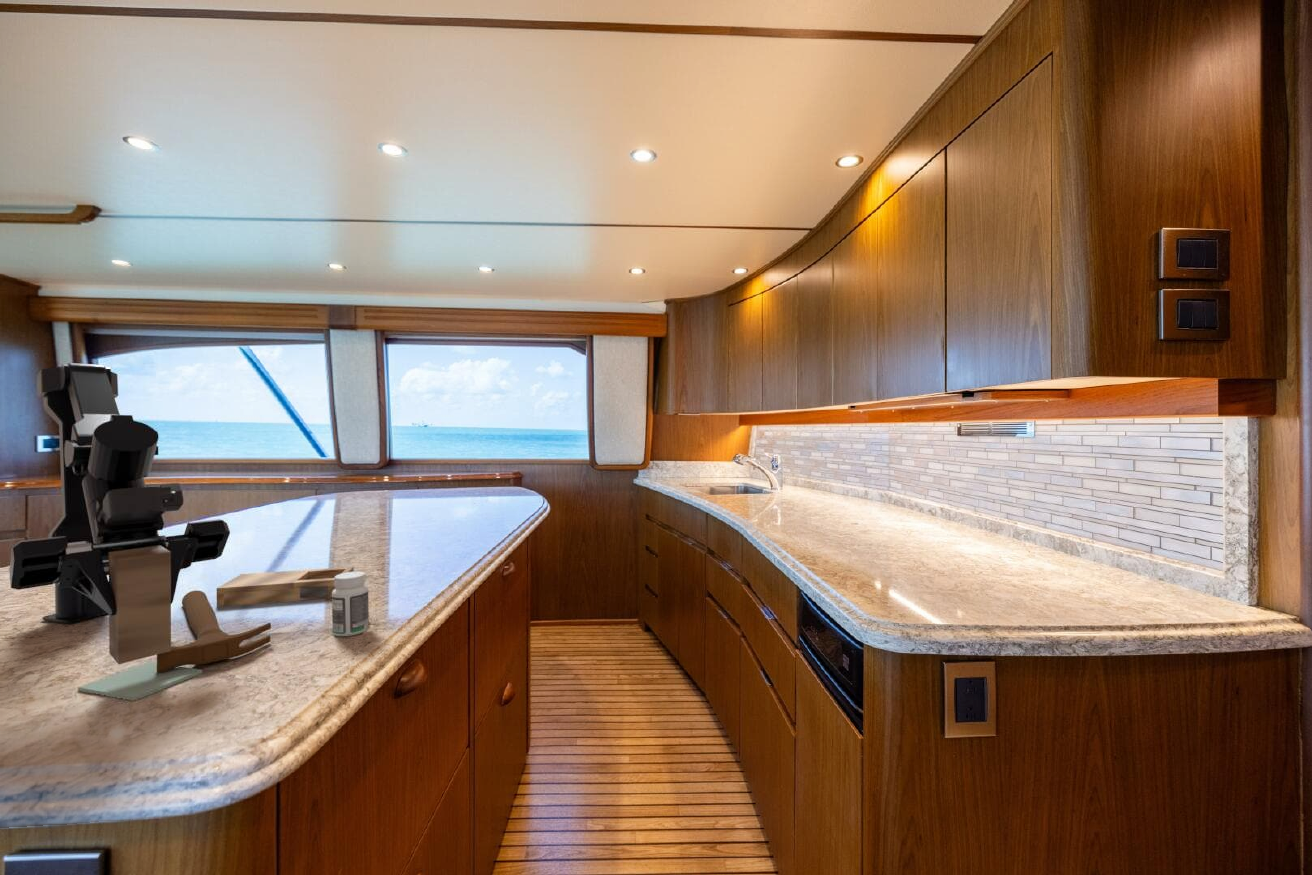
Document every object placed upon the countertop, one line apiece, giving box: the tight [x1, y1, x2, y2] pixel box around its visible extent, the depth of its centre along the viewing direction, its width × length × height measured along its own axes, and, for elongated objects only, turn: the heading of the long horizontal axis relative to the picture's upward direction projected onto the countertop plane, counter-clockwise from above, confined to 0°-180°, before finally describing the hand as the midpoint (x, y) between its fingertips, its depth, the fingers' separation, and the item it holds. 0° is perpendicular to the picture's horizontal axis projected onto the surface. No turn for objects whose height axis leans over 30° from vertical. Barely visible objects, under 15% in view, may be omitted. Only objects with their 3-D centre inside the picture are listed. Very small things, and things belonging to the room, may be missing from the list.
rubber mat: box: [77, 661, 203, 702], centre depth 64 cm, size 9×7×1 cm
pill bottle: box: [331, 571, 370, 637], centre depth 79 cm, size 5×5×8 cm
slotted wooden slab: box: [216, 566, 355, 608], centre depth 94 cm, size 18×9×4 cm, turn 107°
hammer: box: [156, 589, 272, 673], centre depth 79 cm, size 12×3×30 cm
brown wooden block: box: [108, 545, 172, 665], centre depth 63 cm, size 4×4×12 cm
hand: (143, 607), depth 62 cm, fingers closed on brown wooden block, 4 cm apart
